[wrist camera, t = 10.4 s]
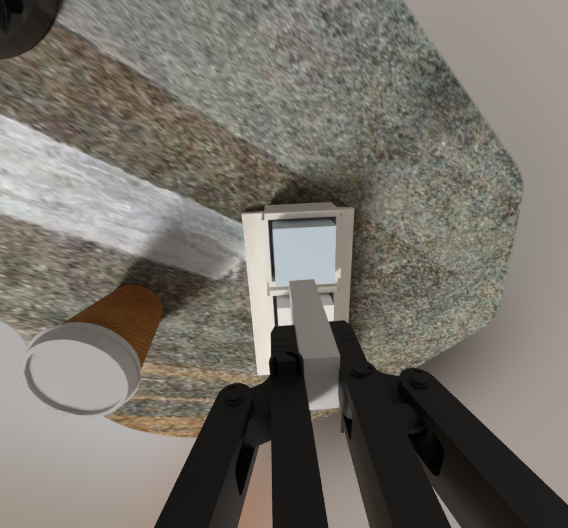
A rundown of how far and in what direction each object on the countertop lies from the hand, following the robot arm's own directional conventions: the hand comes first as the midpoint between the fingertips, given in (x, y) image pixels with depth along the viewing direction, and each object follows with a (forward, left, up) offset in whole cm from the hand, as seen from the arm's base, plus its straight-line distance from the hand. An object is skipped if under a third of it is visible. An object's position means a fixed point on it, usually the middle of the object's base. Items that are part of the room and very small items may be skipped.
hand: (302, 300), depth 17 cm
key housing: (+9, +1, -16) cm, 18 cm away
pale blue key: (+1, +1, -13) cm, 13 cm away
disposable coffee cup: (+9, -19, -16) cm, 26 cm away
